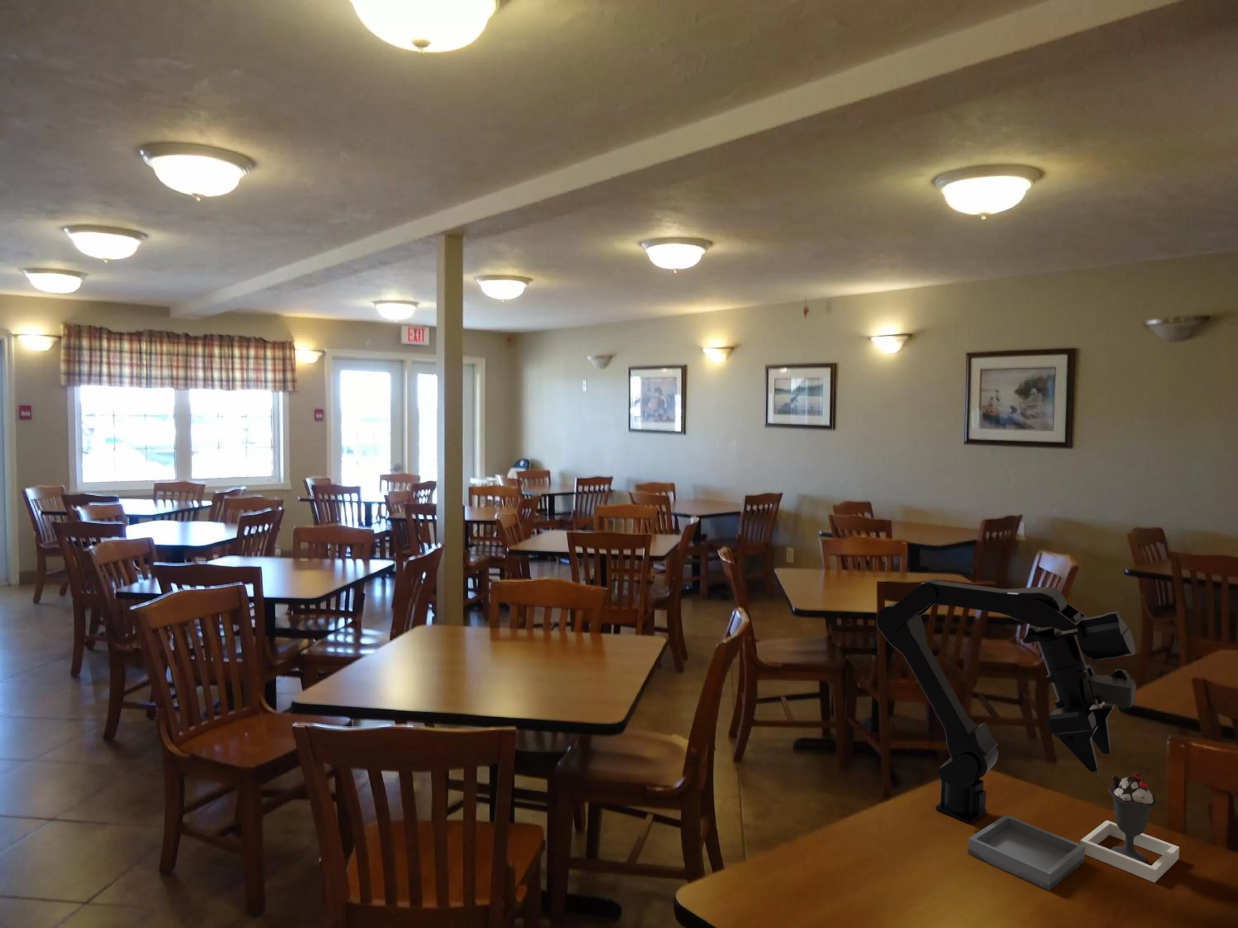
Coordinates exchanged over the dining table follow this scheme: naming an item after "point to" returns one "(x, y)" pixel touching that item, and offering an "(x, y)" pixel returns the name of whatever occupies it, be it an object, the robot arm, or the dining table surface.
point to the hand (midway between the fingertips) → (1100, 762)
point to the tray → (1027, 851)
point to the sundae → (1131, 811)
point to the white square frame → (1126, 863)
